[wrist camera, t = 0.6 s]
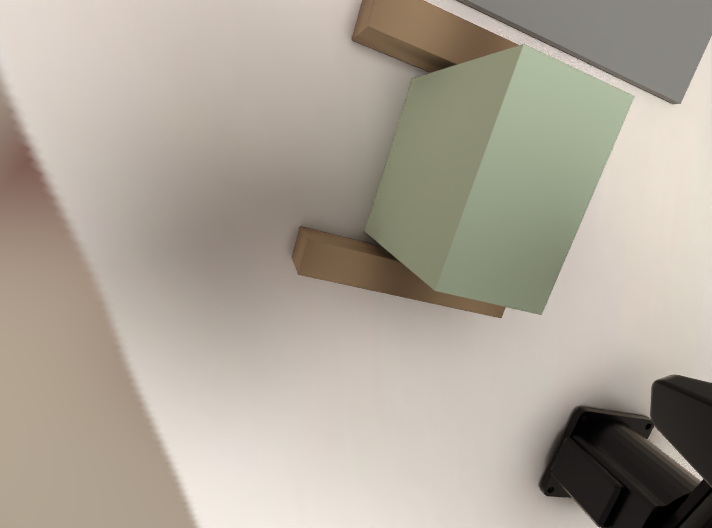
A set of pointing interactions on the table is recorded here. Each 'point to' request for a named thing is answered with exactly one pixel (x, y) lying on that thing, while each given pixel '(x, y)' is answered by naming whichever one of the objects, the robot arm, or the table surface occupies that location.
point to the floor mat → (619, 36)
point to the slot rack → (432, 53)
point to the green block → (495, 174)
